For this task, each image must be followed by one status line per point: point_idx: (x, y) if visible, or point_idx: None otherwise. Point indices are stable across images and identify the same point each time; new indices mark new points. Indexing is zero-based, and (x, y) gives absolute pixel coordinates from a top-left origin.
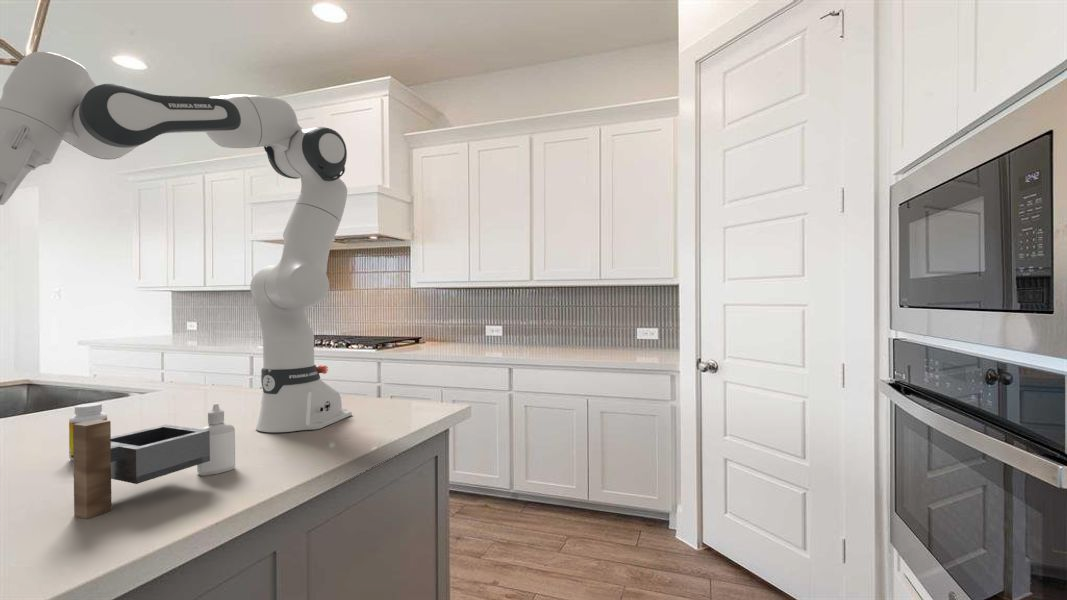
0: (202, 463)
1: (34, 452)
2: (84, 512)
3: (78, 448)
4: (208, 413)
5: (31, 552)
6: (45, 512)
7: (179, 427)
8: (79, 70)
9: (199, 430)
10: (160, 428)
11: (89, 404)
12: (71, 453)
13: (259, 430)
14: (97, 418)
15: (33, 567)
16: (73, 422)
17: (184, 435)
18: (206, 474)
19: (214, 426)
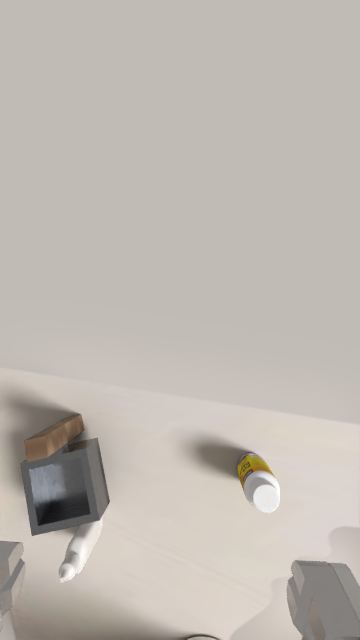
0: None
1: (323, 439)
2: (66, 418)
3: (47, 431)
4: (68, 562)
5: (36, 383)
6: (106, 403)
7: (73, 523)
8: None
9: (41, 529)
10: (90, 510)
11: (269, 500)
12: (248, 455)
13: (203, 637)
14: (245, 494)
15: (12, 379)
16: (252, 472)
17: (33, 511)
18: None
19: (67, 554)
